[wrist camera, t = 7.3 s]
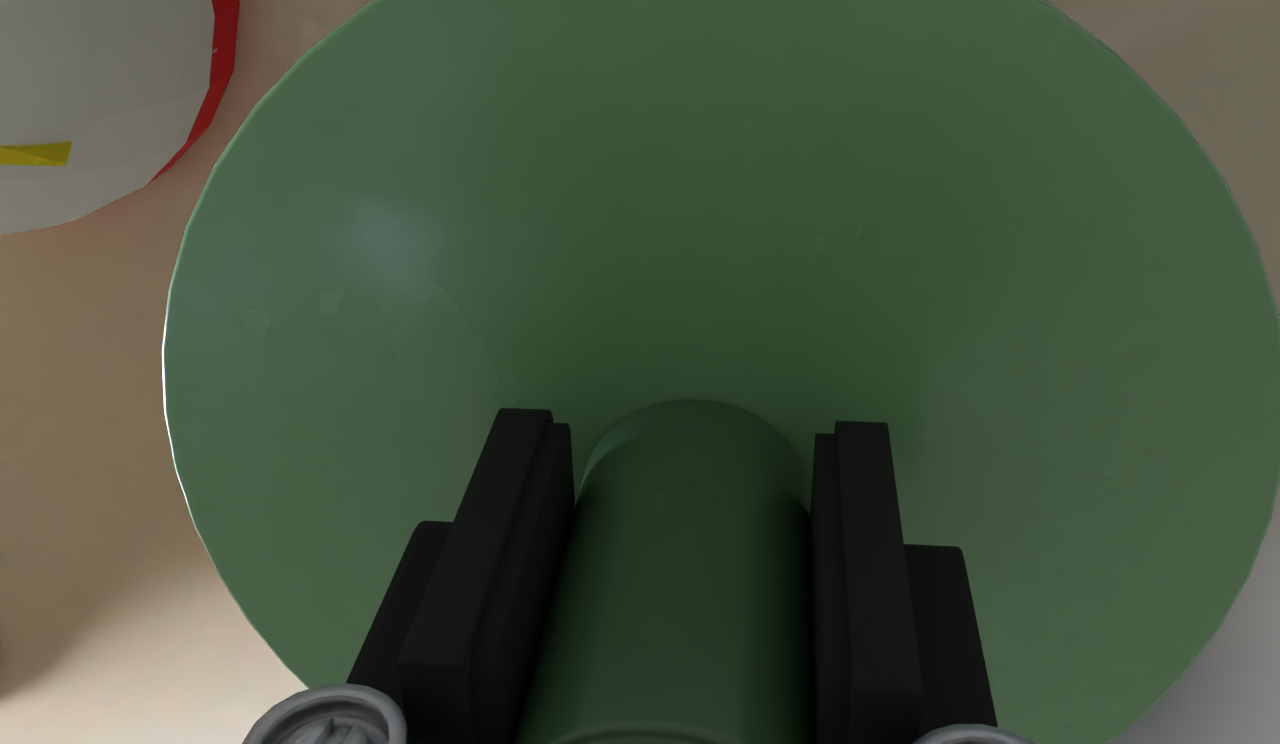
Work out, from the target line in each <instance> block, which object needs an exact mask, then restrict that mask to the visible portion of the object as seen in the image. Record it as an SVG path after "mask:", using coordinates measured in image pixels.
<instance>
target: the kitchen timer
mask: <svg viewBox="0 0 1280 744" xmlns="http://www.w3.org/2000/svg"><path fill="white" fill-rule="evenodd" d="M238 11H239V1H238V0H0V235H6V234H12V233H18V232H24V231H31V230H36V229H42V228H47V227H52V226H56V225H61V224H65V223H68V222H71V221H73V220H76V219H79V218H81V217H84V216H86V215H88V214H90V213H92V212H94V211H96V210H98V209H100V208H102V207H104V206H106V205H108V204H110V203H112V202H114V201H116V200H118V199H120V198H122V197H124V196H126V195H128V194H130V193H132V192H134V191H136V190H138V189H140V188H142V187H144V186H146V185H147V184H149V183H150V182H151V181H153V180H154V179H155V178H156V177H158V176H159V175H160V174H162V173H163V172H164V171H166V170H167V169H168V168H169V167H171V166H172V165H173V164H174V163H175V162H176V161H177V160H178V159H179V157H180V156H181V155H182V154H183V153H184V152H185V151H186V150H187V149H188V148H189V147H190V146H191V145H192V144H193V143H194V141H195V140H196V139H197V138H198V137H199V136H200V135H201V134H202V133H203V132H204V131H205V130H206V129H207V128H208V127H209V126H210V123H211V121H212V119H213V116H214V114H215V112H216V109H217V107H218V105H219V102H220V100H221V98H222V95H223V93H224V91H225V88H226V86H227V84H228V81H229V79H230V77H231V74H232V72H233V67H234V56H235V45H236V33H237V22H238Z"/></svg>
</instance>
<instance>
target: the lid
mask: <svg viewBox="0 0 1280 744" xmlns="http://www.w3.org/2000/svg"><path fill="white" fill-rule="evenodd" d="M162 371H163V397H164V414H165V419H166V424H167V430H168V435H169V440H170V446H171V451H172V456H173V461H174V467H175V471H176V474H177V477H178V480H179V483H180V486H181V489H182V492H183V494H184V497H185V500H186V503H187V506H188V509H189V512H190V515H191V518H192V521H193V524H194V526H195V528H196V530H197V532H198V534H199V536H200V538H201V540H202V542H203V544H204V547H205V549H206V551H207V553H208V555H209V557H210V559H211V561H212V563H213V565H214V567H215V569H216V571H217V573H218V575H219V577H220V578H221V580H222V581H223V583H224V584H225V586H226V587H227V589H228V590H229V592H230V594H231V595H232V597H233V598H234V600H235V601H236V603H237V604H238V606H239V607H240V609H241V610H242V612H243V613H244V615H245V616H246V618H247V620H248V621H249V623H250V624H251V625H252V626H253V628H254V629H255V630H256V631H257V632H258V634H259V635H260V636H261V637H262V638H263V640H264V641H265V642H266V643H267V644H268V646H269V647H270V648H271V649H272V650H273V652H274V653H275V654H276V655H277V656H278V658H279V659H280V660H281V661H282V662H283V664H284V665H285V666H286V667H287V668H288V669H289V670H290V671H291V672H292V673H293V674H294V675H295V676H296V677H297V678H298V679H299V680H300V681H301V682H302V683H303V684H304V685H305V686H306V687H307V688H308V689H311V688H314V687H317V686H321V685H331V684H341V683H346V681H347V679H348V677H349V674H350V672H351V670H352V668H353V665H354V663H355V661H356V659H357V656H358V654H359V652H360V650H361V647H362V645H363V643H364V641H365V638H366V636H367V634H368V632H369V630H370V627H371V625H372V623H373V621H374V618H375V616H376V614H377V612H378V609H379V607H380V605H381V603H382V600H383V598H384V596H385V594H386V592H387V589H388V587H389V585H390V583H391V580H392V578H393V576H394V574H395V571H396V569H397V567H398V565H399V562H400V560H401V558H402V556H403V553H404V551H405V549H406V547H407V545H408V542H409V540H410V538H411V536H412V533H413V532H414V530H415V528H416V527H417V525H418V524H419V523H420V522H422V521H445V522H453V521H454V519H455V516H456V514H457V511H458V509H459V506H460V504H461V501H462V499H463V496H464V494H465V491H466V489H467V487H468V484H469V482H470V479H471V477H472V474H473V472H474V469H475V467H476V464H477V462H478V459H479V457H480V454H481V452H482V449H483V447H484V444H485V442H486V440H487V437H488V435H489V432H490V430H491V427H492V425H493V422H494V420H495V417H496V415H497V413H498V411H499V409H500V408H520V409H547V410H550V411H551V412H552V416H553V421H554V423H568V424H569V426H570V431H571V444H572V460H573V476H574V493H575V510H574V514H573V518H572V522H571V526H570V530H569V533H568V537H567V541H566V545H565V549H564V552H563V556H562V560H561V564H560V568H559V572H558V575H557V579H556V583H555V587H554V591H553V594H552V598H551V602H550V606H549V610H548V614H547V617H546V621H545V625H544V629H543V633H542V636H541V640H540V644H539V648H538V652H537V656H536V659H535V663H534V667H533V671H532V675H531V678H530V682H529V686H528V690H527V694H526V698H525V701H524V705H523V709H522V713H521V717H520V720H519V724H518V728H517V732H516V736H515V740H514V743H513V744H816V742H815V701H814V659H813V618H812V577H811V535H810V509H811V493H812V476H813V459H814V443H815V434H816V433H828V434H834V429H835V422H836V421H861V422H886V423H887V424H888V429H889V436H890V444H891V451H892V459H893V466H894V474H895V481H896V489H897V497H898V504H899V512H900V519H901V527H902V534H903V542H904V544H916V545H936V546H956V547H959V548H960V549H961V550H962V553H963V556H964V560H965V565H966V570H967V575H968V580H969V585H970V590H971V595H972V600H973V605H974V610H975V615H976V620H977V625H978V630H979V635H980V640H981V645H982V650H983V655H984V660H985V665H986V670H987V675H988V679H989V684H990V689H991V694H992V699H993V704H994V709H995V714H996V719H997V724H998V728H1002V729H1006V730H1009V731H1011V732H1013V733H1016V734H1018V735H1020V736H1022V737H1024V738H1026V739H1029V740H1031V741H1033V742H1034V743H1035V744H1109V743H1110V742H1111V741H1112V740H1114V739H1115V738H1116V737H1118V736H1119V735H1120V734H1122V733H1123V732H1124V731H1126V730H1127V729H1128V728H1129V727H1131V726H1132V725H1133V724H1135V723H1136V722H1137V721H1138V720H1139V719H1140V718H1141V717H1142V716H1143V715H1144V714H1145V713H1146V712H1147V711H1148V710H1149V709H1150V708H1152V706H1153V705H1155V704H1156V702H1158V701H1159V699H1161V698H1162V697H1163V696H1164V695H1165V694H1166V693H1167V692H1168V691H1169V690H1170V689H1171V688H1172V687H1173V686H1174V685H1175V684H1176V683H1177V682H1178V681H1179V680H1180V679H1181V678H1182V676H1183V675H1184V674H1185V673H1186V671H1187V670H1188V669H1189V667H1190V666H1191V665H1192V663H1193V662H1194V661H1195V660H1196V658H1197V657H1198V656H1199V654H1200V653H1201V652H1202V650H1203V649H1204V648H1205V647H1206V645H1207V644H1208V643H1209V642H1210V640H1211V639H1212V637H1213V636H1214V635H1215V634H1216V633H1217V631H1218V630H1219V628H1220V626H1221V625H1222V623H1223V621H1224V619H1225V617H1226V616H1227V614H1228V612H1229V611H1230V609H1231V607H1232V605H1233V604H1234V602H1235V600H1236V598H1237V596H1238V595H1239V593H1240V591H1241V590H1242V588H1243V586H1244V584H1245V583H1246V581H1247V579H1248V577H1249V575H1250V572H1251V570H1252V567H1253V565H1254V562H1255V559H1256V557H1257V554H1258V551H1259V549H1260V546H1261V544H1262V541H1263V539H1264V536H1265V533H1266V531H1267V528H1268V526H1269V523H1270V520H1271V517H1272V512H1273V508H1274V503H1275V499H1276V494H1277V489H1278V485H1279V480H1280V317H1279V314H1278V311H1277V307H1276V304H1275V301H1274V297H1273V294H1272V291H1271V287H1270V284H1269V281H1268V277H1267V274H1266V271H1265V267H1264V264H1263V261H1262V257H1261V254H1260V251H1259V248H1258V246H1257V244H1256V242H1255V240H1254V238H1253V236H1252V234H1251V232H1250V230H1249V228H1248V226H1247V224H1246V222H1245V220H1244V218H1243V216H1242V214H1241V212H1240V210H1239V208H1238V206H1237V204H1236V202H1235V200H1234V198H1233V196H1232V194H1231V192H1230V190H1229V188H1228V186H1227V184H1226V182H1225V180H1224V179H1223V177H1222V176H1221V175H1220V173H1219V172H1218V170H1217V169H1216V168H1215V166H1214V165H1213V163H1212V162H1211V161H1210V159H1209V158H1208V157H1207V155H1206V154H1205V152H1204V151H1203V150H1202V148H1201V147H1200V145H1199V144H1198V143H1197V141H1196V140H1195V139H1194V137H1193V136H1192V134H1191V133H1190V132H1189V130H1188V129H1187V127H1186V126H1185V125H1184V123H1183V122H1182V121H1181V119H1180V118H1179V116H1178V115H1177V114H1176V113H1175V112H1174V111H1173V110H1172V109H1171V108H1170V107H1169V106H1168V104H1167V103H1166V102H1165V101H1164V100H1163V99H1162V98H1161V97H1160V96H1159V95H1158V94H1157V93H1156V92H1155V91H1154V90H1153V89H1152V88H1151V87H1150V86H1149V85H1148V84H1147V83H1146V82H1145V81H1144V80H1143V79H1142V78H1141V77H1140V76H1139V75H1138V74H1137V73H1136V72H1135V71H1134V70H1133V69H1132V68H1131V67H1130V66H1129V65H1128V64H1127V63H1126V62H1125V61H1124V60H1123V59H1122V58H1121V57H1120V56H1119V55H1118V54H1117V53H1116V52H1115V51H1114V50H1113V49H1112V48H1111V47H1110V46H1109V45H1108V44H1107V43H1105V42H1104V41H1102V40H1101V39H1100V38H1098V37H1097V36H1096V35H1094V34H1093V33H1092V32H1090V31H1089V30H1088V29H1086V28H1085V27H1083V26H1082V25H1081V24H1079V23H1078V22H1077V21H1075V20H1074V19H1073V18H1071V17H1070V16H1068V15H1067V14H1066V13H1064V12H1063V11H1062V10H1060V9H1059V8H1058V7H1056V6H1055V5H1054V4H1052V3H1051V2H1049V1H1048V0H372V1H370V2H369V3H368V4H366V5H365V6H364V7H363V8H361V9H360V10H359V11H357V12H356V13H355V14H354V15H352V16H351V17H350V18H348V19H347V20H346V21H345V22H343V23H342V24H341V25H339V26H338V27H337V28H335V29H334V30H333V31H332V32H330V33H329V34H328V35H326V36H325V37H324V38H323V39H321V40H320V41H319V42H317V43H316V44H315V45H314V46H312V47H311V48H310V49H308V50H307V51H306V52H305V53H304V54H303V55H302V56H301V57H300V58H299V59H298V60H297V61H296V62H295V63H294V64H293V65H292V66H291V67H290V69H289V70H288V71H287V72H286V73H285V74H284V75H283V76H282V77H281V78H280V79H279V80H278V81H277V82H276V83H275V84H274V86H273V87H272V88H271V89H270V90H269V91H268V92H267V93H266V94H265V95H264V96H263V97H262V98H261V99H260V100H259V101H258V103H257V104H256V105H255V106H254V107H253V108H252V110H251V111H250V113H249V114H248V116H247V117H246V119H245V120H244V122H243V123H242V125H241V126H240V128H239V129H238V131H237V132H236V133H235V135H234V136H233V138H232V139H231V141H230V142H229V144H228V145H227V147H226V148H225V150H224V151H223V153H222V154H221V156H220V157H219V159H218V160H217V162H216V163H215V164H214V167H213V169H212V171H211V173H210V175H209V177H208V180H207V182H206V184H205V186H204V188H203V190H202V192H201V195H200V197H199V199H198V201H197V203H196V205H195V208H194V210H193V212H192V214H191V216H190V218H189V221H188V223H187V225H186V228H185V232H184V235H183V239H182V242H181V246H180V250H179V253H178V257H177V260H176V264H175V267H174V271H173V275H172V278H171V282H170V285H169V292H168V300H167V309H166V318H165V326H164V335H163V343H162Z"/></svg>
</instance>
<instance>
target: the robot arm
mask: <svg viewBox="0 0 1280 744" xmlns="http://www.w3.org/2000/svg"><path fill="white" fill-rule="evenodd" d="M574 510H575V493H574V476H573V460H572V444H571V431H570V426H569V424H568V423H554V421H553V416H552V412H551V411H550V410H547V409H520V408H500V409H499V411H498V413H497V415H496V417H495V420H494V422H493V425H492V427H491V430H490V432H489V435H488V437H487V440H486V442H485V444H484V447H483V449H482V452H481V454H480V457H479V459H478V462H477V464H476V467H475V469H474V472H473V474H472V477H471V479H470V482H469V484H468V487H467V489H466V491H465V494H464V496H463V499H462V501H461V504H460V506H459V509H458V511H457V514H456V516H455V519H454V521H453V522H445V521H422V522H420V523H419V524H418V525H417V527H416V528H415V530H414V532H413V533H412V536H411V538H410V540H409V542H408V545H407V547H406V549H405V551H404V553H403V556H402V558H401V560H400V562H399V565H398V567H397V569H396V571H395V574H394V576H393V578H392V580H391V583H390V585H389V587H388V589H387V592H386V594H385V596H384V598H383V600H382V603H381V605H380V607H379V609H378V612H377V614H376V616H375V618H374V621H373V623H372V625H371V627H370V630H369V632H368V634H367V636H366V638H365V641H364V643H363V645H362V647H361V650H360V652H359V654H358V656H357V659H356V661H355V663H354V665H353V668H352V670H351V672H350V674H349V677H348V679H347V681H346V683H341V684H331V685H321V686H317V687H314V688H311V689H308V690H305V691H302V692H298V693H296V694H294V695H292V696H290V697H288V698H287V699H285V700H283V701H281V702H280V703H278V704H276V705H274V706H273V707H272V708H271V709H270V710H268V711H267V712H266V713H265V714H264V715H263V716H262V717H261V718H260V719H259V720H257V721H256V722H255V724H254V725H253V727H252V728H251V730H250V732H249V733H248V735H247V736H246V738H245V739H244V741H243V743H242V744H513V743H514V740H515V736H516V732H517V728H518V724H519V720H520V717H521V713H522V709H523V705H524V701H525V698H526V694H527V690H528V686H529V682H530V678H531V675H532V671H533V667H534V663H535V659H536V656H537V652H538V648H539V644H540V640H541V636H542V633H543V629H544V625H545V621H546V617H547V614H548V610H549V606H550V602H551V598H552V594H553V591H554V587H555V583H556V579H557V575H558V572H559V568H560V564H561V560H562V556H563V552H564V549H565V545H566V541H567V537H568V533H569V530H570V526H571V522H572V518H573V514H574ZM810 535H811V577H812V618H813V659H814V701H815V742H816V744H1035V743H1034V742H1033V741H1031V740H1029V739H1026V738H1024V737H1022V736H1020V735H1018V734H1016V733H1013V732H1011V731H1009V730H1006V729H1002V728H998V724H997V719H996V714H995V709H994V704H993V699H992V694H991V689H990V684H989V679H988V675H987V670H986V665H985V660H984V655H983V650H982V645H981V640H980V635H979V630H978V625H977V620H976V615H975V610H974V605H973V600H972V595H971V590H970V585H969V580H968V575H967V570H966V565H965V560H964V556H963V553H962V550H961V549H960V548H959V547H956V546H936V545H916V544H904V542H903V534H902V527H901V519H900V512H899V504H898V497H897V489H896V481H895V474H894V466H893V459H892V451H891V444H890V436H889V429H888V424H887V423H886V422H861V421H836V422H835V429H834V434H828V433H816V434H815V443H814V459H813V476H812V493H811V509H810Z"/></svg>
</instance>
